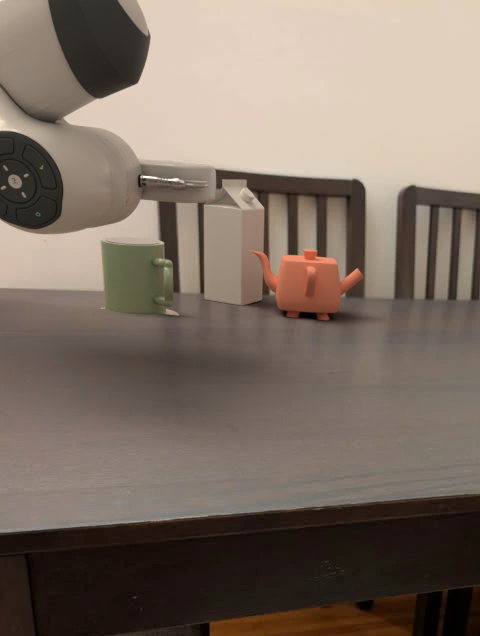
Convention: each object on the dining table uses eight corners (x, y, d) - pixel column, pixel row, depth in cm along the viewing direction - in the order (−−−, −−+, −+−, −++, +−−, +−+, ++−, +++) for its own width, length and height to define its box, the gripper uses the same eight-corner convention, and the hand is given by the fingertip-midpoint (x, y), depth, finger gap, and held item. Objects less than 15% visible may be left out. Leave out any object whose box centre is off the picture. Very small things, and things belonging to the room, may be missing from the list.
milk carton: (203, 300, 121) (203, 177, 113) (226, 295, 127) (227, 177, 119) (241, 307, 119) (242, 181, 111) (262, 301, 125) (265, 181, 117)
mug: (73, 315, 103) (67, 237, 98) (139, 306, 112) (136, 233, 108) (139, 333, 97) (135, 250, 92) (203, 321, 106) (202, 245, 102)
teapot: (315, 304, 126) (318, 243, 122) (364, 317, 119) (369, 253, 114) (249, 311, 116) (250, 245, 112) (298, 326, 109) (301, 256, 105)
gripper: (199, 150, 69) (230, 152, 81) (-15, 132, 69) (48, 137, 82) (200, 221, 71) (229, 212, 84) (-7, 203, 71) (54, 197, 84)
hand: (139, 175), depth 83 cm, fingers open, 5 cm apart
